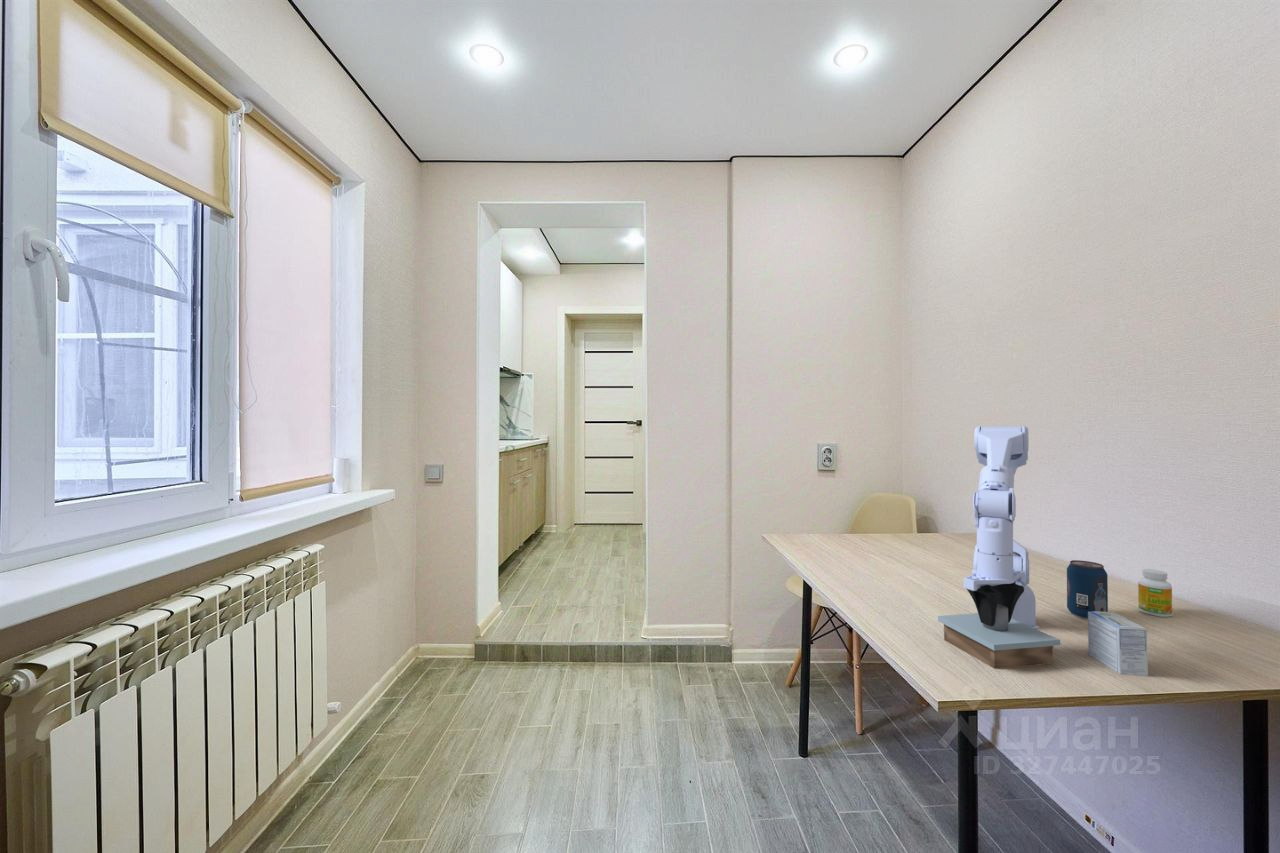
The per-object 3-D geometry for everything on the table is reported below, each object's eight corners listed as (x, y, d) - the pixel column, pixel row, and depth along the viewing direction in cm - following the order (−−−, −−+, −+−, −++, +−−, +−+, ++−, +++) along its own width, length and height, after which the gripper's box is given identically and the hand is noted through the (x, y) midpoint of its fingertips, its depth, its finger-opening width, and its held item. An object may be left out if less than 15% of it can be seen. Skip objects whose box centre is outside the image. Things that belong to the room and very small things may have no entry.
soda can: (1072, 608, 117) (1072, 557, 117) (1112, 617, 111) (1111, 564, 111) (1062, 614, 113) (1061, 562, 113) (1102, 624, 107) (1102, 569, 107)
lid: (996, 620, 102) (996, 592, 102) (1060, 649, 89) (1060, 617, 89) (937, 624, 100) (937, 596, 100) (994, 655, 87) (993, 622, 87)
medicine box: (1149, 678, 84) (1148, 628, 84) (1118, 676, 85) (1118, 626, 85) (1114, 657, 92) (1114, 611, 92) (1087, 655, 93) (1086, 610, 93)
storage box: (996, 637, 101) (996, 618, 101) (1053, 665, 89) (1052, 643, 89) (944, 641, 100) (943, 622, 100) (994, 670, 88) (994, 648, 88)
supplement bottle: (1146, 615, 112) (1146, 573, 112) (1133, 607, 117) (1133, 566, 117) (1178, 618, 110) (1177, 575, 110) (1163, 610, 115) (1162, 569, 115)
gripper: (998, 544, 101) (999, 609, 101) (948, 550, 96) (949, 620, 96) (1036, 552, 94) (1037, 622, 94) (984, 560, 89) (985, 634, 89)
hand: (995, 622), depth 94 cm, fingers closed on lid, 4 cm apart
